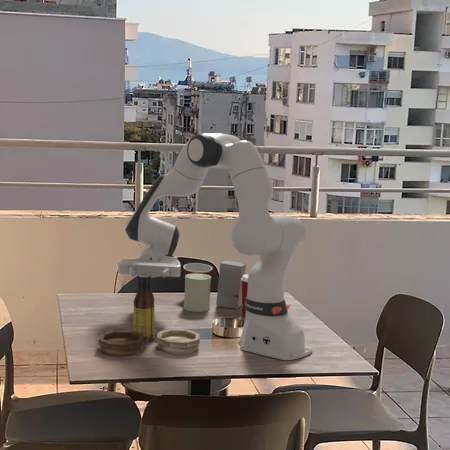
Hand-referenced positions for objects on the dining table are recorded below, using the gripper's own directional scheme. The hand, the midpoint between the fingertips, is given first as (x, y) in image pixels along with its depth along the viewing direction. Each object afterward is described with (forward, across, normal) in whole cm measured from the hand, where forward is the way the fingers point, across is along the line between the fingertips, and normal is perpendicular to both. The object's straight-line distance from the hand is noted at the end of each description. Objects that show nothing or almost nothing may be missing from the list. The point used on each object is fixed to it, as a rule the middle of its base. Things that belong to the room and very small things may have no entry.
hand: (147, 273), depth 228 cm
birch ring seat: (+19, +11, +17) cm, 27 cm away
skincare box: (-29, +28, +17) cm, 44 cm away
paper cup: (-17, +34, +17) cm, 42 cm away
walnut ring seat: (+23, -5, +17) cm, 29 cm away
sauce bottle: (+13, 0, +17) cm, 21 cm away
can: (-24, +16, +18) cm, 34 cm away
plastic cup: (-38, +16, +18) cm, 45 cm away
